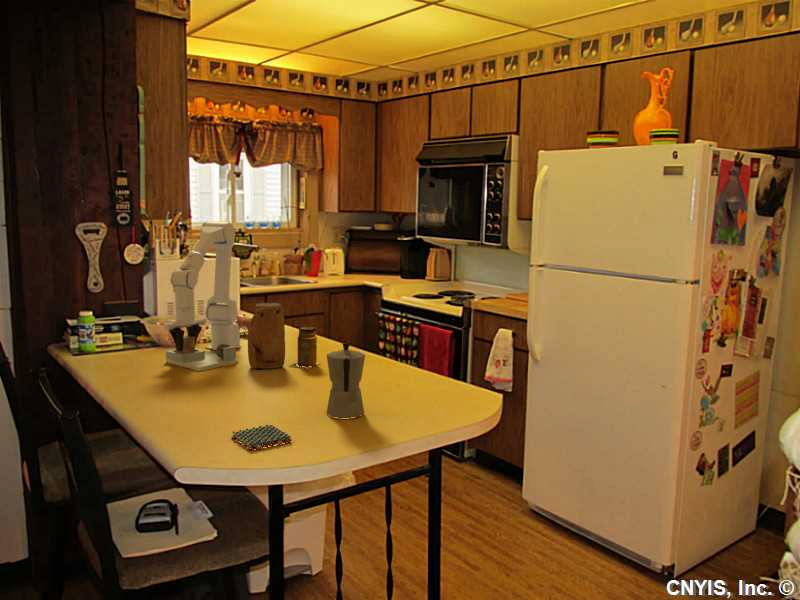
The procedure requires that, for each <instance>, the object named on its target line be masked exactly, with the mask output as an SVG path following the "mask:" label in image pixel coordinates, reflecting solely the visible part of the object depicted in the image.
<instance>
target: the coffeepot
mask: <svg viewBox="0 0 800 600" xmlns="http://www.w3.org/2000/svg"><path fill="white" fill-rule="evenodd" d="M342 347H343V349H341V350H339V349H338V350H335V351H331V352H329V353H326V360H327V367H328V374H329V380H330V382H331V388H330V391H329V397H328V402H327V403H328V404H327V407H326V414H327V415H328V414H329V415H330V416H332V417H338V418H351V417H359V416H360V415H362V414H363V415H364V413H365V409H364V404H363V397H362V391H361V388H360V382H361V381H362V377H363V373H364V371H363V370H364V365H365V364H364V363H365V360H366V354H365V353H362V352H360V351H357V350H352V349H349V348H350V343H349V342H343V343H342ZM363 415H362V416H363ZM359 418H360V417H359Z"/></svg>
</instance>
